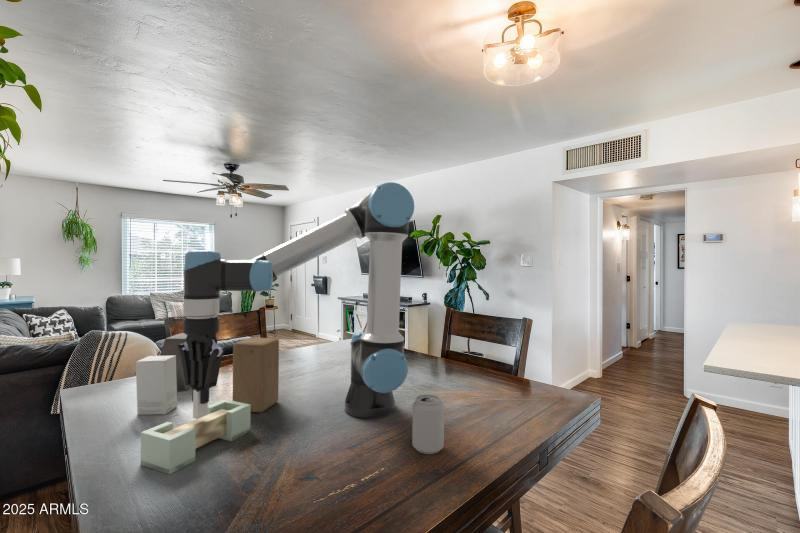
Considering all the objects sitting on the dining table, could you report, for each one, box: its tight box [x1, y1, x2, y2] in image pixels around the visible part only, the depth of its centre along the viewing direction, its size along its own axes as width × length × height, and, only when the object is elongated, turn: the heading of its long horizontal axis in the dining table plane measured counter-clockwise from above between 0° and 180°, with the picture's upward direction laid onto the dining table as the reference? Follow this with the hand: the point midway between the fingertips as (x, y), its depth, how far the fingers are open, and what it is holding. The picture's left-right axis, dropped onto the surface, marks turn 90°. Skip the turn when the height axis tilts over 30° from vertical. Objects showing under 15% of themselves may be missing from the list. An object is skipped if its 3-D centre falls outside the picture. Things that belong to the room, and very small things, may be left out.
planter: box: [159, 332, 191, 392], centre depth 134 cm, size 17×8×21 cm
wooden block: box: [232, 337, 280, 413], centre depth 116 cm, size 10×10×20 cm
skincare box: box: [135, 355, 178, 416], centre depth 111 cm, size 8×7×16 cm
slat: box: [163, 409, 229, 450], centre depth 90 cm, size 16×4×5 cm, turn 157°
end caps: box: [140, 399, 252, 475], centre depth 90 cm, size 22×9×7 cm, turn 157°
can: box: [411, 393, 445, 455], centre depth 91 cm, size 8×8×12 cm
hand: (200, 416), depth 90 cm, fingers closed
